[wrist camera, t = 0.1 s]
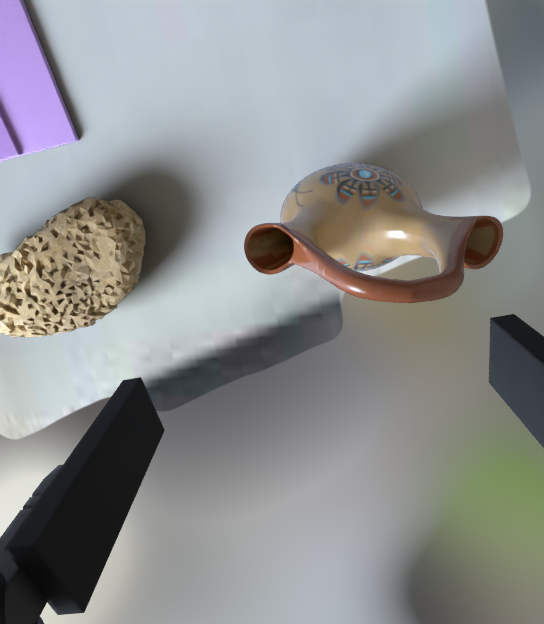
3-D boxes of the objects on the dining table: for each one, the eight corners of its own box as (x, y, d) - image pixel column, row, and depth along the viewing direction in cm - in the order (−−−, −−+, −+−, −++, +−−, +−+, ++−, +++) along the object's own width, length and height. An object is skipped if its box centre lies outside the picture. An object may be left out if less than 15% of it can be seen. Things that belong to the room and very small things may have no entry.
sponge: (48, 328, 47) (178, 309, 41) (-12, 350, 40) (134, 332, 34) (11, 226, 44) (145, 189, 38) (-61, 231, 37) (89, 186, 31)
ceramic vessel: (263, 251, 40) (230, 386, 18) (259, 164, 37) (209, 194, 14) (413, 246, 39) (581, 384, 17) (424, 156, 36) (660, 176, 13)
